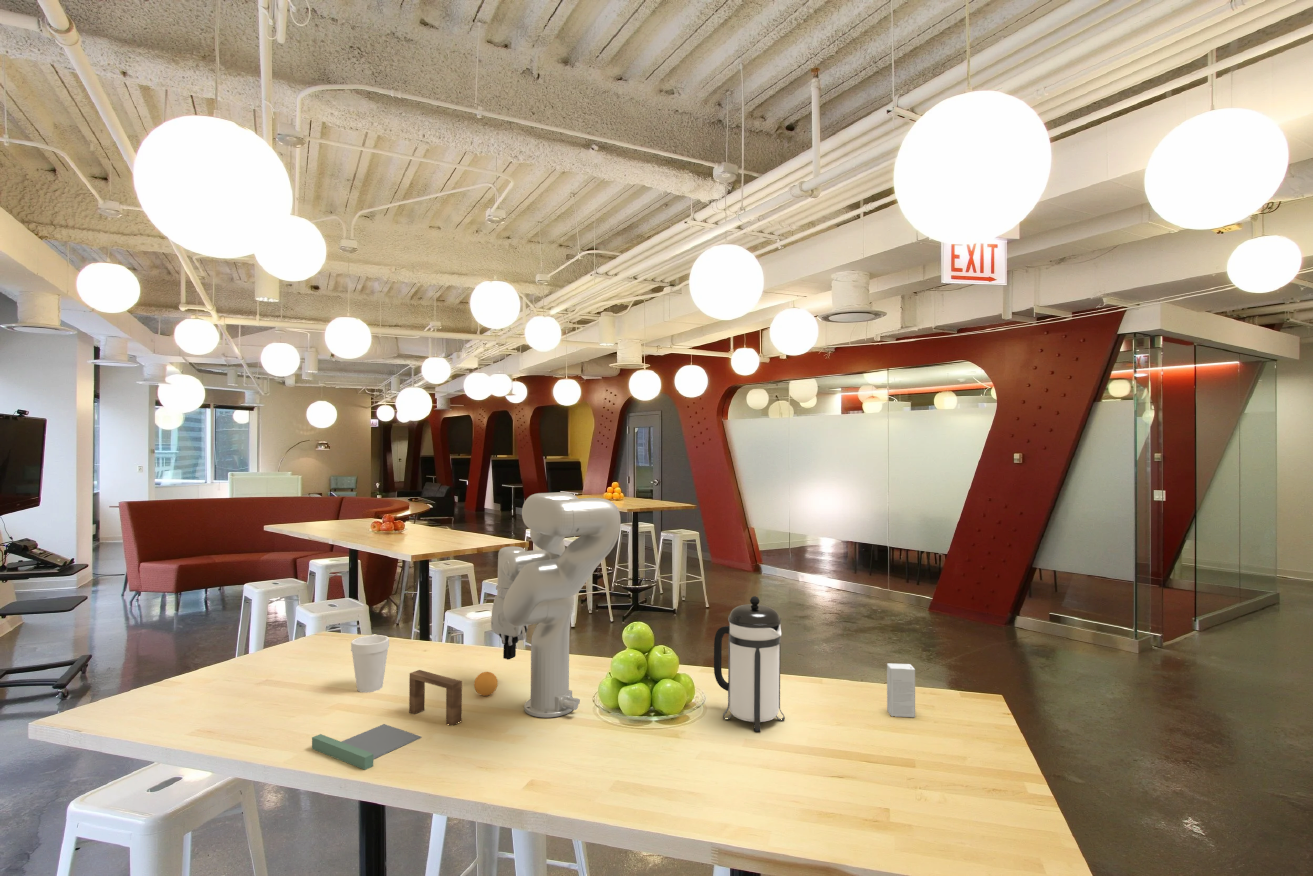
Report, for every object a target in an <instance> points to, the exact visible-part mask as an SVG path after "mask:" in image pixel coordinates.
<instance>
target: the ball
mask: <svg viewBox="0 0 1313 876" xmlns="http://www.w3.org/2000/svg"><path fill="white" fill-rule="evenodd" d="M473 683H474V684H473V685H474V690H475V692H476V693H477V694H478V695H480V696H484V697H486V696H487V697H488V696H490V695H492V694H493V693H495V691H496V690H497V687H498V684H499V683H498V677H497V676H496V675H495V674H494V673H493V672H490V671H483V672H481V673H479V674H478V675H477V676H476V678H475V680H474V682H473Z"/></svg>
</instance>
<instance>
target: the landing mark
mask: <svg viewBox="0 0 1313 876" xmlns="http://www.w3.org/2000/svg"><path fill="white" fill-rule="evenodd" d="M421 738H422V736H421V735H418V734H416V733H412V732H410V731H407V730H403V729H400V728H397V727H394V726H391V725H388V724H386V723H383V724H381V725H379V726H376V727H373V728H371V729H369V730H366V731H364V732H361V733H358V734H356V735H354V736H351V737H350V738H346V739H344V740H340V742H343V743H346V744H348V745H351V746H354V747H356V748H359V749H362V750H364V751H367V752H370V753H372V754H373V760H376V759H378V758H380V757H382V756H385V755H386V754H388V753H390V752H393V751H395V750H397V749H399V748H402V747H404V746H406V745H408V744H411V743H414V742H415V741H417V740H419V739H421Z"/></svg>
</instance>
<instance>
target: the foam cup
mask: <svg viewBox="0 0 1313 876" xmlns="http://www.w3.org/2000/svg"><path fill="white" fill-rule="evenodd" d="M350 648H351V649H350V651H351V653H352V661H353V669H354V678H355V682H356V683H355V684H356V690H357V691H358V692H360V693H373V692H376V691H377V692H378V691H380V690H381V689H382V688H383V685H384V680H385V672H386V666H387V665H386V664H387V658H388V650H389V648H390V637H388V636H387V635H382V634H381V635H380V634H372V635H364V636H359V637H356V638H355V639H352V641H351V642H350Z"/></svg>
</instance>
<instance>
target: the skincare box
mask: <svg viewBox="0 0 1313 876" xmlns="http://www.w3.org/2000/svg"><path fill="white" fill-rule="evenodd" d="M886 695H887V696H886V703H887V704H886V705H887V706H886V708H887V709H886V710H887V712H888V714H889V715H891V716H890V717H893V716H895V717H896V718H899V717H900V718H916V669H915V667H914V666H913V665H912V664H911V663H890V662H889V663H886Z"/></svg>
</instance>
